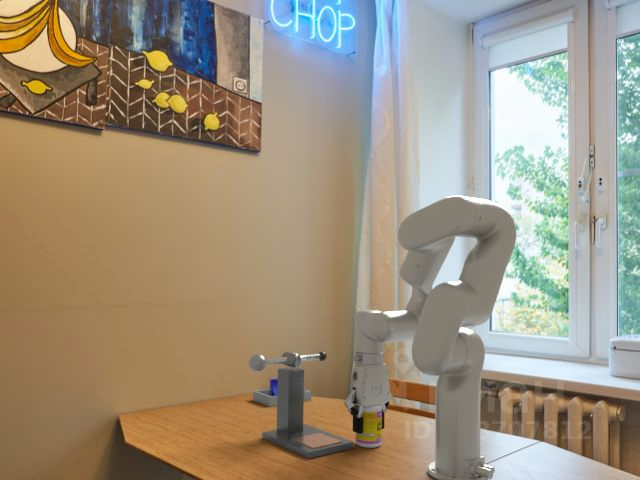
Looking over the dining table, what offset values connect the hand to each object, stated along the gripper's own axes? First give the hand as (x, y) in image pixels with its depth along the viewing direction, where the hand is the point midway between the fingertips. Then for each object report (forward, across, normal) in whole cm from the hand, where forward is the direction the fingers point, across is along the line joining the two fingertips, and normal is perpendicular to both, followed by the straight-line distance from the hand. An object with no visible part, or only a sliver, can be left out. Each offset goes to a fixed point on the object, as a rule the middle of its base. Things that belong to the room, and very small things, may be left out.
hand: (368, 429), depth 144 cm
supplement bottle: (+4, 0, 0) cm, 4 cm away
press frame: (+4, -12, +10) cm, 16 cm away
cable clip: (+4, +10, +53) cm, 54 cm away
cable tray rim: (+4, +10, +53) cm, 54 cm away
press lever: (-14, -12, +17) cm, 26 cm away
